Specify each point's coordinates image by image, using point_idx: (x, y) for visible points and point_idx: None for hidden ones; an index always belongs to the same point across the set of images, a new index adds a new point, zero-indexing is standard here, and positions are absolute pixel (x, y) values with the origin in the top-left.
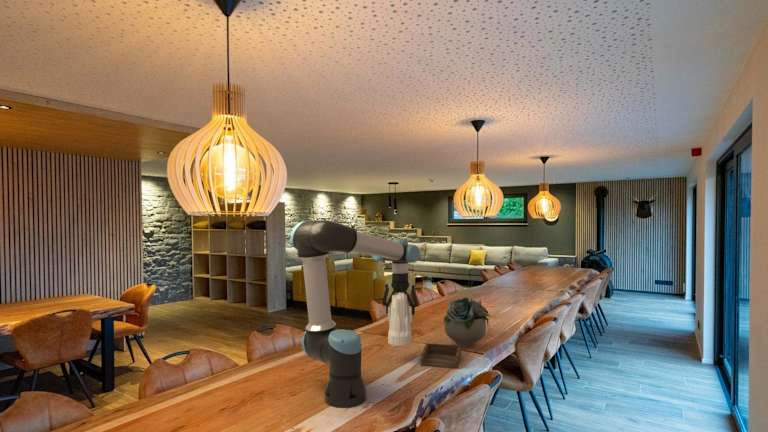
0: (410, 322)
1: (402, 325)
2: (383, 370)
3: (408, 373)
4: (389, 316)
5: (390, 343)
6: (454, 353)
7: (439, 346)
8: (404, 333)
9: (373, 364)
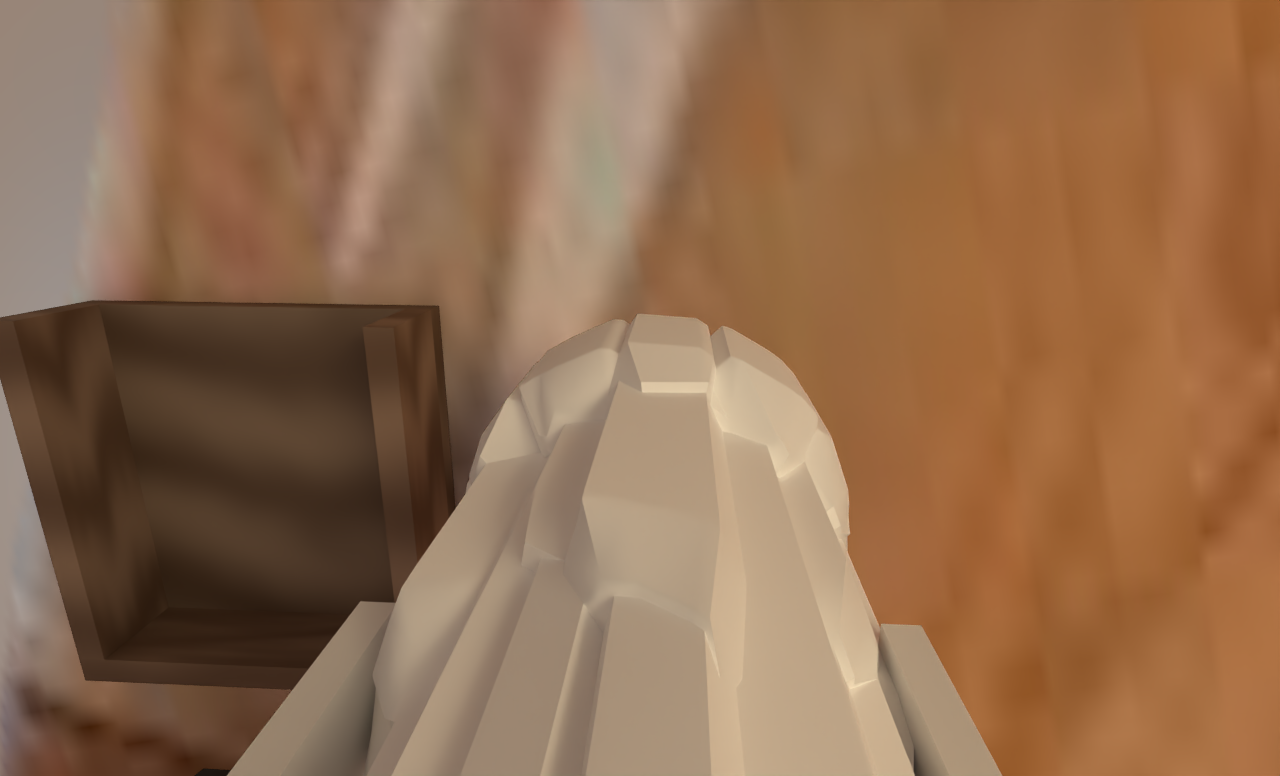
0: (381, 605)
1: (545, 476)
2: (778, 84)
3: (503, 56)
4: (925, 712)
5: (769, 352)
6: (196, 613)
7: (300, 657)
8: (537, 416)
9: (917, 244)
